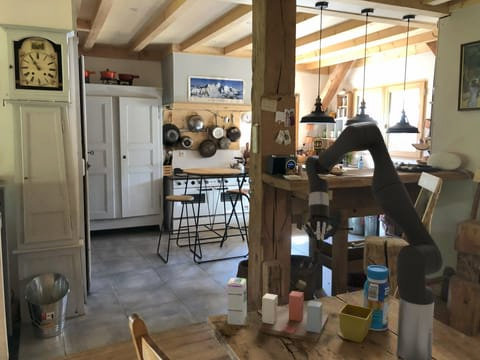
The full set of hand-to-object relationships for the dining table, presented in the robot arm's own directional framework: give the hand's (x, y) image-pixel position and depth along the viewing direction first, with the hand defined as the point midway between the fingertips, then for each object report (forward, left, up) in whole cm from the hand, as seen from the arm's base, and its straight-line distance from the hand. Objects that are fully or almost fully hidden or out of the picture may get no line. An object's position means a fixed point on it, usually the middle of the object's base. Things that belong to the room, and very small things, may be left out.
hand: (318, 250), depth 153 cm
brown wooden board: (+4, +19, -21) cm, 29 cm away
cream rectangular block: (+11, +23, -19) cm, 32 cm away
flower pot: (-16, +20, -21) cm, 33 cm away
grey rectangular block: (-4, +23, -19) cm, 30 cm away
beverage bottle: (-21, +9, -21) cm, 31 cm away
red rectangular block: (+4, +17, -19) cm, 26 cm away
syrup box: (+23, +24, -21) cm, 39 cm away
